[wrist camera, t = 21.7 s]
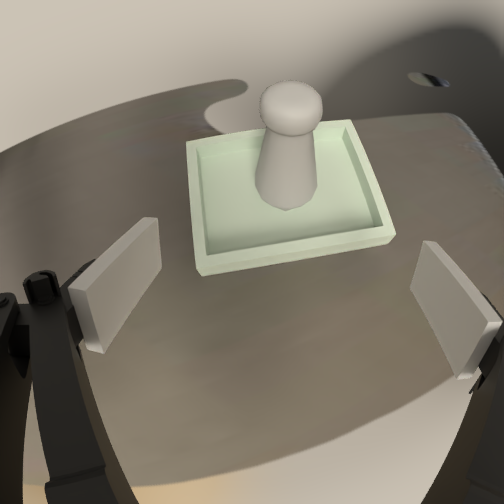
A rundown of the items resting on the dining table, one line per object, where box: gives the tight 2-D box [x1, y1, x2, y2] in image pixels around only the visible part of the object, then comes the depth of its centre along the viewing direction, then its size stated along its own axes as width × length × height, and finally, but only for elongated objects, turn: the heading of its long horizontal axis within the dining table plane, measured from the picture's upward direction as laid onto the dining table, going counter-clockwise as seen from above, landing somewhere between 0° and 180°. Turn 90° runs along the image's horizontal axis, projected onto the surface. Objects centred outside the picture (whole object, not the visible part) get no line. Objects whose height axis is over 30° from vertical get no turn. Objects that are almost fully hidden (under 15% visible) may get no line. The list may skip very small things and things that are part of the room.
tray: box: [186, 120, 396, 276], centre depth 30 cm, size 18×14×2 cm
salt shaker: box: [255, 80, 323, 211], centre depth 24 cm, size 6×6×13 cm
